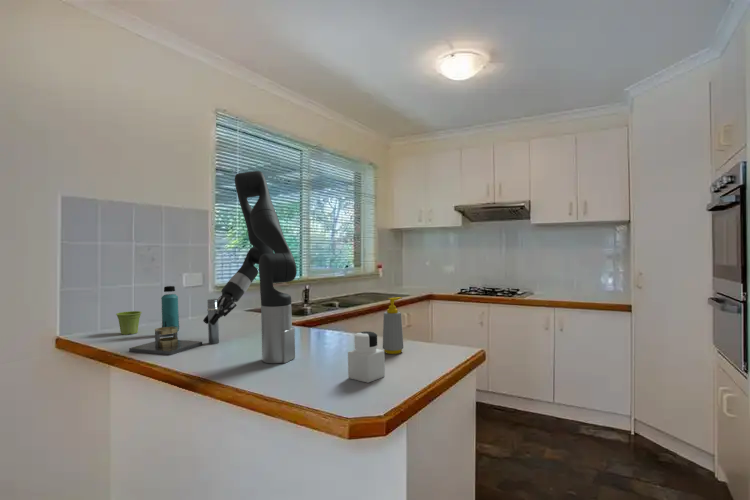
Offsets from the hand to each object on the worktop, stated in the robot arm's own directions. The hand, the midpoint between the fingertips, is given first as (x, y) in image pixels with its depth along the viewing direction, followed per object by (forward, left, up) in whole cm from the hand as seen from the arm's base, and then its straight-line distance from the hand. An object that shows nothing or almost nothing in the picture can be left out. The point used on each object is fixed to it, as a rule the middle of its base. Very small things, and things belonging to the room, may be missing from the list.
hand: (208, 322), depth 157 cm
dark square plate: (+10, +9, -8) cm, 16 cm away
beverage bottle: (+27, -10, -8) cm, 30 cm away
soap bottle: (-69, -7, -8) cm, 69 cm away
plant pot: (+47, -8, -8) cm, 49 cm away
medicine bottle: (-70, +21, -8) cm, 73 cm away
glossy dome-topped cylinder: (-1, -2, -8) cm, 8 cm away
